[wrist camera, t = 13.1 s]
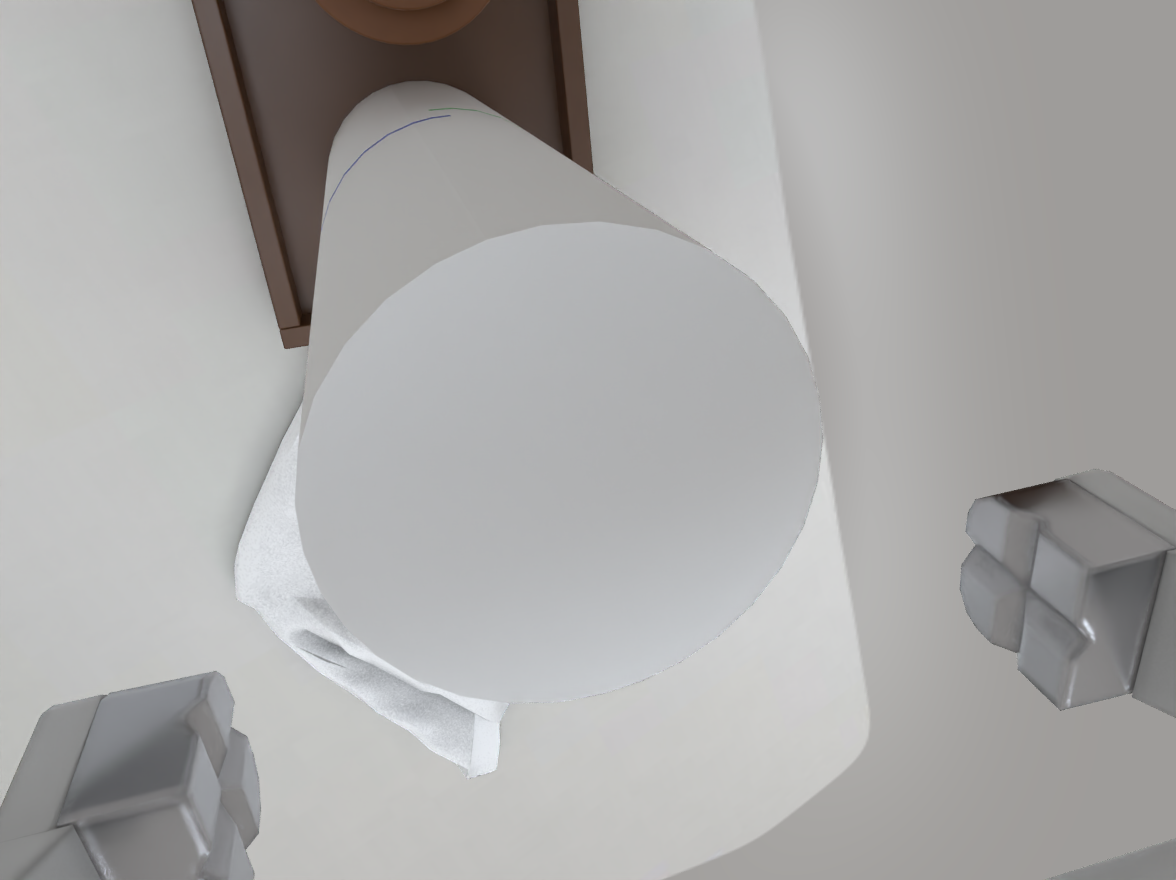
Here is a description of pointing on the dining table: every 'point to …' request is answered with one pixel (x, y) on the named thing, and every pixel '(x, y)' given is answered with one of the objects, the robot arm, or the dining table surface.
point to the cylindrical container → (535, 414)
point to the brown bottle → (404, 18)
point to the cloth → (312, 629)
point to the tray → (349, 75)
